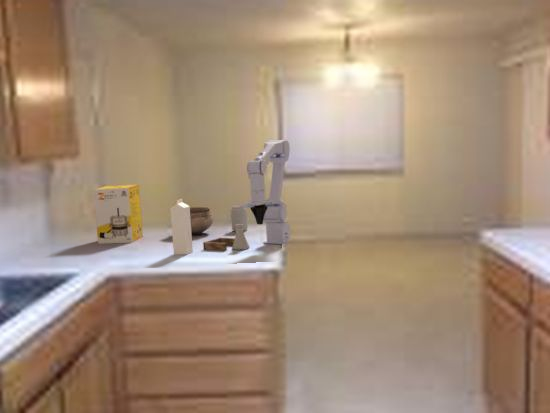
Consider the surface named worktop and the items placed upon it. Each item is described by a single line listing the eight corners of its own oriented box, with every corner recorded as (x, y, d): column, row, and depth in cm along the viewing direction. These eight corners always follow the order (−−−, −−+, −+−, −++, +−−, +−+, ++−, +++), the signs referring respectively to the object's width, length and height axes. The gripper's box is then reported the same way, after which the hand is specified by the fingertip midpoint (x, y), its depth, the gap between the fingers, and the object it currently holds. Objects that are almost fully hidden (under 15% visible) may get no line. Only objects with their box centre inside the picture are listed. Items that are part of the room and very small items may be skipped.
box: (241, 245, 297) (241, 238, 297) (225, 250, 287) (224, 243, 286) (220, 244, 303) (220, 237, 302) (203, 249, 293) (203, 242, 292)
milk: (173, 254, 285) (169, 200, 282) (179, 252, 290) (175, 198, 288) (187, 254, 283) (183, 199, 280) (193, 251, 289) (189, 198, 286)
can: (240, 232, 334) (239, 207, 333) (228, 231, 339) (227, 206, 337) (250, 229, 340) (249, 205, 339) (238, 229, 345) (237, 204, 343)
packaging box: (98, 243, 324) (93, 189, 321) (109, 237, 340) (105, 186, 337) (132, 242, 322) (128, 187, 319) (142, 236, 338) (138, 184, 335)
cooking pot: (181, 230, 350) (180, 206, 349) (219, 229, 347) (217, 204, 346) (166, 239, 325) (164, 213, 324) (206, 238, 323) (205, 211, 321)
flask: (252, 247, 292) (251, 223, 291) (244, 250, 285) (243, 226, 284) (237, 246, 295) (235, 223, 294) (228, 250, 288) (227, 225, 287)
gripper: (265, 188, 290) (267, 221, 291) (237, 192, 281) (239, 225, 282) (276, 188, 284) (278, 222, 286) (248, 192, 275) (250, 227, 277)
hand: (259, 224), depth 284 cm, fingers closed
